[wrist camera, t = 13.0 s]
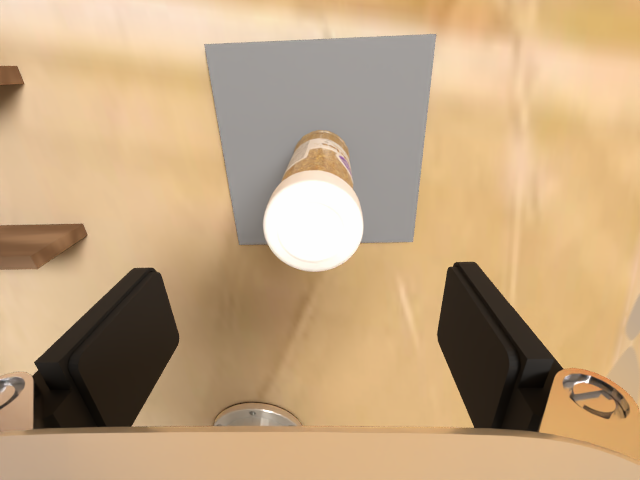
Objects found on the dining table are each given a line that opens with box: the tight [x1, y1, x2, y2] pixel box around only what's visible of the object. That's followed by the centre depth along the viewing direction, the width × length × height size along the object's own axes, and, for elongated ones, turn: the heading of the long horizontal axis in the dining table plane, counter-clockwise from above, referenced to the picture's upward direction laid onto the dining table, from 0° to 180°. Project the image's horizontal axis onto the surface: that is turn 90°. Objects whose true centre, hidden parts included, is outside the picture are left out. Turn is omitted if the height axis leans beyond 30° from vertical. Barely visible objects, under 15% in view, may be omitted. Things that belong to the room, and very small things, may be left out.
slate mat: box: [204, 34, 436, 245], centre depth 26 cm, size 16×16×1 cm
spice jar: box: [263, 130, 363, 272], centre depth 20 cm, size 5×5×14 cm
